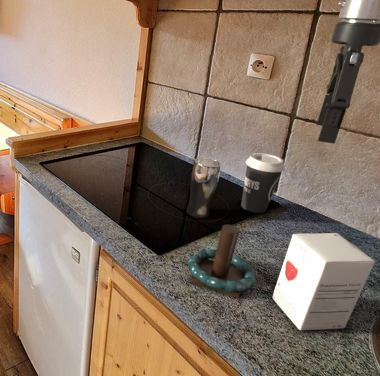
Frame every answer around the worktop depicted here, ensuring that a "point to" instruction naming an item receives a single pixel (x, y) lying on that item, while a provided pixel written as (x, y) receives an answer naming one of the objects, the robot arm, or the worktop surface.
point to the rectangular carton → (321, 280)
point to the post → (223, 261)
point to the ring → (218, 283)
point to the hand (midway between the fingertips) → (324, 133)
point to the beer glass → (202, 186)
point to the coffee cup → (260, 181)
